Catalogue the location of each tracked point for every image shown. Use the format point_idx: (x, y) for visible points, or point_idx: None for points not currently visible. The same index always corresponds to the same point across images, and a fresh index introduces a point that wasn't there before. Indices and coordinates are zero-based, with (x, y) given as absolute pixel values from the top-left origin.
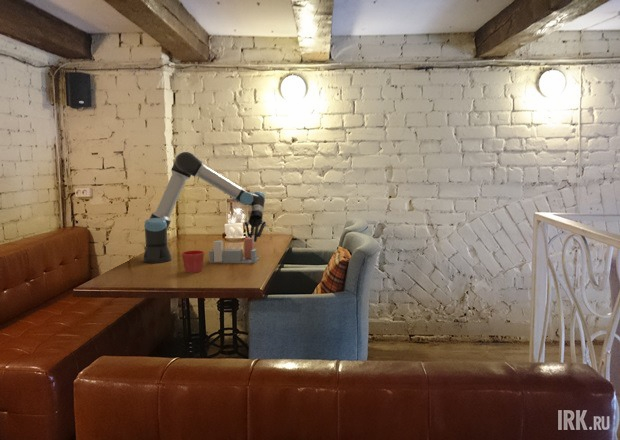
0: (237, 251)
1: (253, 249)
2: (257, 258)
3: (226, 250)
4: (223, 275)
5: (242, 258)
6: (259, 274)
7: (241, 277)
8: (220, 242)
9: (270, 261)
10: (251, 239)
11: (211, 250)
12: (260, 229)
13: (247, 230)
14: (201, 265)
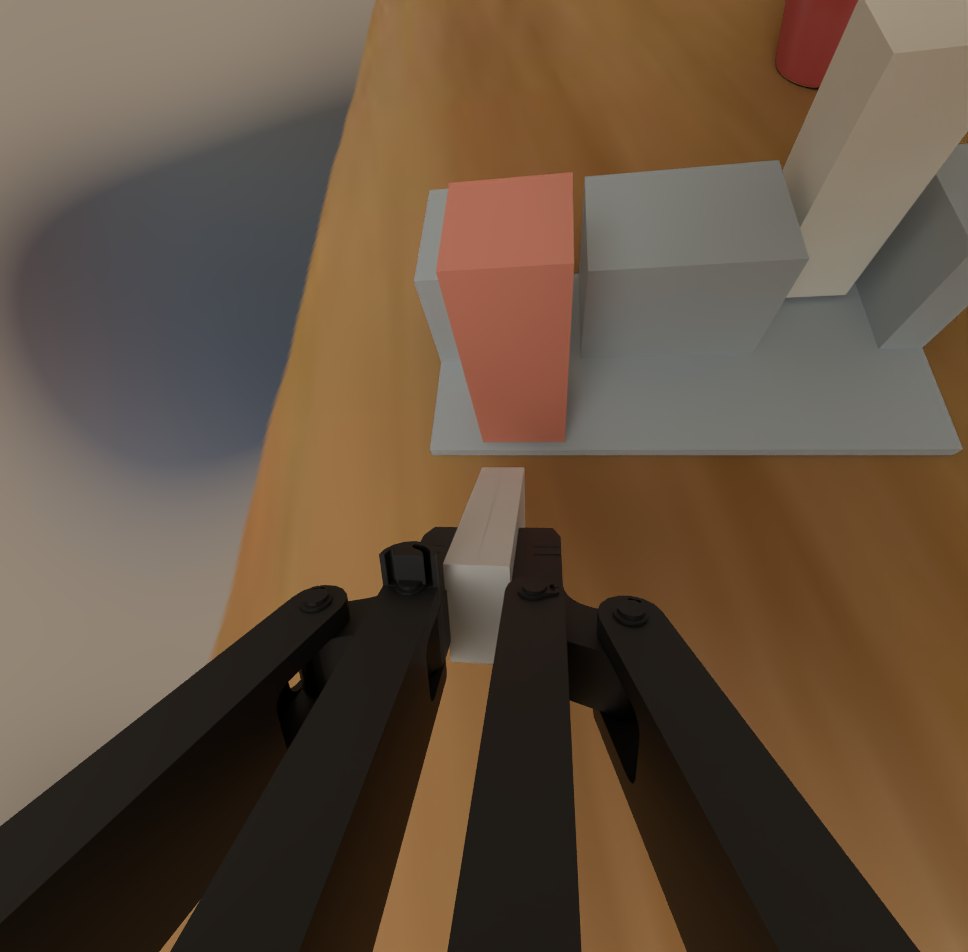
0: (611, 180)
1: None
2: (443, 411)
3: (757, 184)
4: (588, 31)
5: (580, 334)
6: (399, 69)
7: (483, 22)
8: (862, 7)
9: (328, 348)
10: (456, 188)
11: (965, 170)
12: (171, 721)
13: (714, 730)
14: (784, 9)
